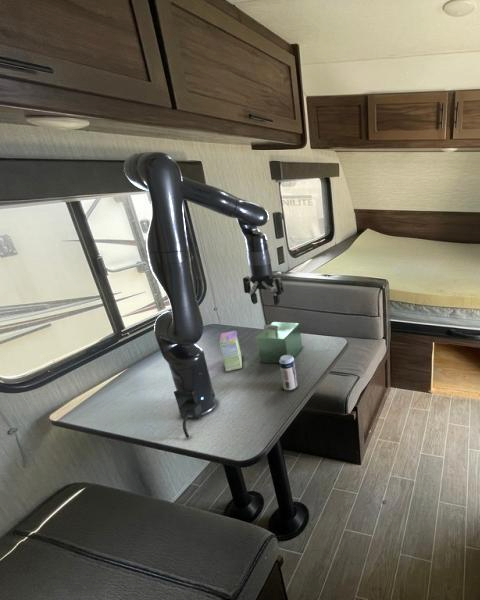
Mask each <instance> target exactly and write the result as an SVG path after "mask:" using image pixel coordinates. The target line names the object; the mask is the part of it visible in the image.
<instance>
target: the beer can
mask: <svg viewBox="0 0 480 600" xmlns="http://www.w3.org/2000/svg"><path fill="white" fill-rule="evenodd" d="M278 364H279V369H280V375H281V381H282V389H284V390H285V391H292V390H295V389H296V388H298V377H297V371H296V362H295V357H294V358H293V357H292V356H291V355H284V356H282V357H281V358H280V361H279V363H278Z"/></svg>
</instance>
